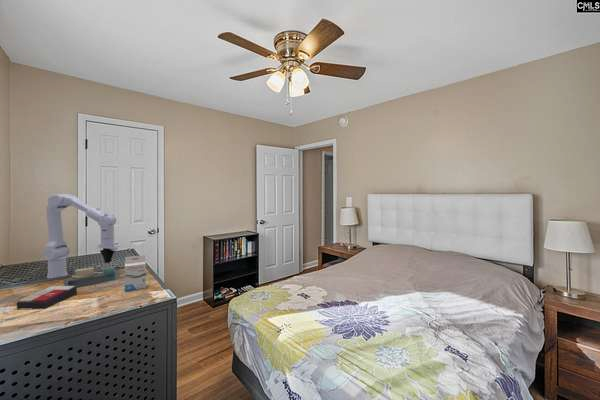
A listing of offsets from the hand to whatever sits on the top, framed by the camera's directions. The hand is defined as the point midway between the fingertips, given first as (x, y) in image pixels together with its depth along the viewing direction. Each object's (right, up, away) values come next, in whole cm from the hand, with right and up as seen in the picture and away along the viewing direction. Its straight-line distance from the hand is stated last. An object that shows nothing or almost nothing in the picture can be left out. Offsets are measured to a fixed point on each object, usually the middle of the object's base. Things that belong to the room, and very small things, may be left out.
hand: (107, 262), depth 142 cm
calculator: (0, -8, -34) cm, 35 cm away
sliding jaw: (-3, -6, -6) cm, 9 cm away
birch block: (-3, -7, -11) cm, 13 cm away
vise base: (-2, -7, -8) cm, 11 cm away
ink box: (+27, -8, -20) cm, 34 cm away
